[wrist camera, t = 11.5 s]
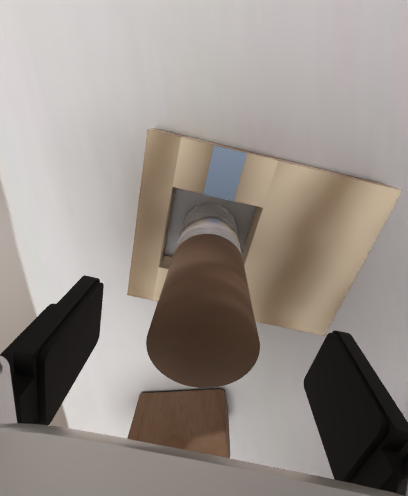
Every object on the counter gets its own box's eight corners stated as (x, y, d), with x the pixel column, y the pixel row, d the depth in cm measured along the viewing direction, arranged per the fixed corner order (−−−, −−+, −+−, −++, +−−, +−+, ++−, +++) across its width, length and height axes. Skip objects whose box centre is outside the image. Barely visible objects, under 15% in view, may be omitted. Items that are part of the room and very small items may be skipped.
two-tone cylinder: (242, 209, 20) (275, 315, 9) (228, 257, 21) (241, 395, 10) (188, 197, 20) (155, 290, 9) (179, 246, 21) (140, 376, 10)
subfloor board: (383, 184, 19) (404, 191, 17) (315, 319, 24) (325, 337, 22) (154, 128, 18) (146, 129, 16) (134, 281, 23) (126, 296, 21)
